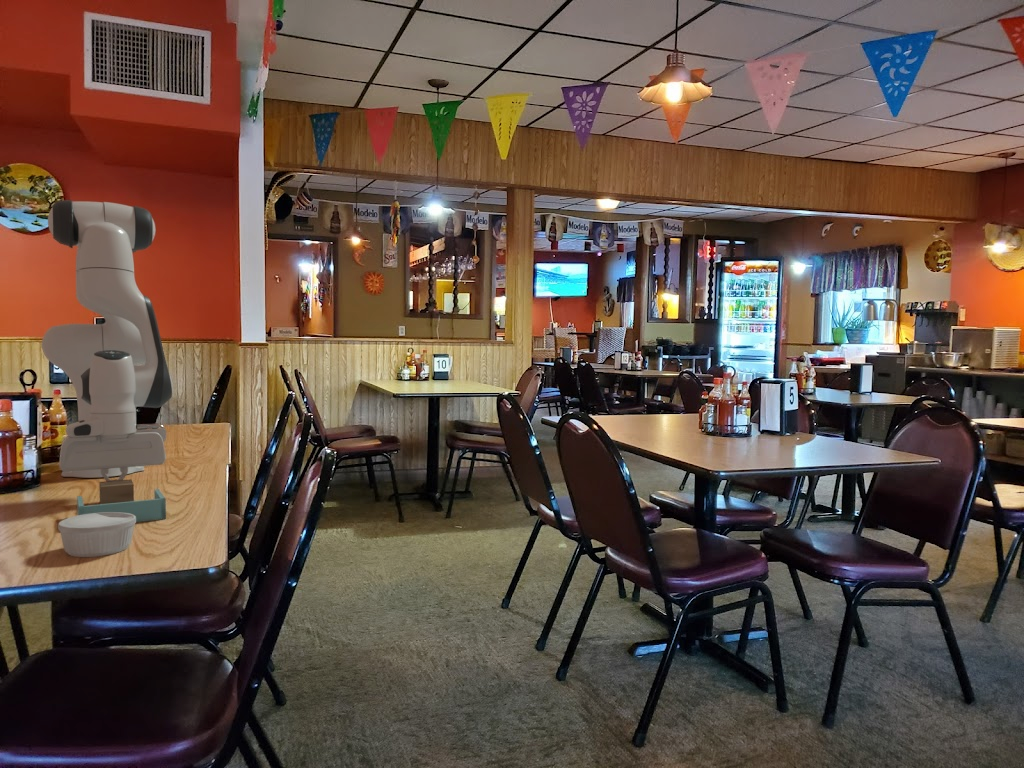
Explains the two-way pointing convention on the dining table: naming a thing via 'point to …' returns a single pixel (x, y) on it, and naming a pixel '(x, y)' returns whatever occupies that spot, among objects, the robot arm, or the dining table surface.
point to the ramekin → (97, 533)
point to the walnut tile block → (116, 491)
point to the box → (130, 508)
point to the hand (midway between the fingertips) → (114, 488)
